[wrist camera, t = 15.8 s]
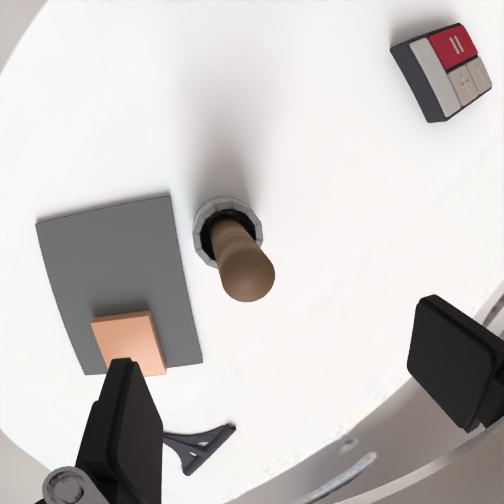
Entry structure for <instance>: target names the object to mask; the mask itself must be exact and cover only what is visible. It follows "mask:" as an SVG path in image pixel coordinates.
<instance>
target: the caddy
mask: <svg viewBox="0 0 504 504" xmlns="http://www.w3.org/2000/svg"><path fill="white" fill-rule="evenodd" d="M219 214H230V215H233V216H234V217H235V218H236V219H237V220H238V221H239V222H240V224H241V225H242V226H243V227H244V229H245V230H246V231H247V232H248V234H249V235H250V236H251V237H252V239H253V240H254V241H255V242H256V244H257V245H258V246H259V247H261V245H262V242H263V233H262V224H261V221H260V220H259V219H258V217H257V216H256V215H255V214H254V212H253V211H252V210H251V208H250V207H248V206H247V205H246V204H245V203H244V202H241V201H239V200H237V199H235V198H232V197H226V196H222V197H216V198H213V199H211V200H209V201H207V202H206V203H205V204H203V205H202V206H201V208H200V209H199V210H198V212H197V214H196V217H195V220H194V223H193V230H192V235H193V241H194V247H195V252H196V253H197V254H198V255H199V256H200V257H201V259H202V260H203V261H204V262H205V263H206V264H207V265H208V266H211V267H214V268H217V269H218V266H217V262H216V258H215V254H214V250H213V246H212V242H211V238H210V234H209V225H210V222H211V221H212V219H213V218H214V217H216V216H217V215H219Z"/></svg>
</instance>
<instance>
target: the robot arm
mask: <svg viewBox="0 0 504 504" xmlns="http://www.w3.org/2000/svg"><path fill="white" fill-rule="evenodd" d="M407 369H408V371H409V373H410V374H411V375H412V376H413V377H414V378H415V379H416V380H417V382H418V383H419V384H420V385H421V386H422V387H423V388H424V389H425V390H426V391H427V392H428V394H429V395H430V396H431V397H432V398H433V399H434V400H435V401H436V402H437V403H438V405H439V406H440V407H441V408H442V409H443V410H444V411H445V412H446V414H447V415H448V416H449V417H450V418H451V419H452V420H453V421H454V423H455V424H456V425H457V426H458V427H460V428H463V429H464V430H465V431H466V432H467V433H469V432H471V431H473V430H474V429H475V428H477V427H478V426H479V424H480V422H481V423H482V424H483V431H482V432H481V433H479V434H478V435H476V436H475V437H473V438H472V439H471V440H469V441H467V442H465V443H464V444H462V445H461V446H459V447H458V448H456V449H454V450H452V451H451V452H449V453H447V454H445V455H444V456H442V457H440V458H438V459H437V460H435V461H433V462H431V463H429V464H427V465H425V466H424V467H422V468H420V469H418V470H416V471H414V472H412V473H410V474H408V475H405V476H403V477H401V478H399V479H397V480H395V481H392V482H390V483H388V484H386V485H383V486H381V487H379V488H376V489H374V490H371V491H368V492H366V493H363V494H361V495H358V496H355V497H353V498H350V499H347V500H344V501H341V502H338V503H335V504H504V341H503V340H502V339H500V338H499V337H497V336H496V335H495V334H493V333H492V332H490V331H489V330H488V329H486V328H485V327H483V326H482V325H480V324H479V323H478V322H476V321H475V320H473V319H472V318H470V317H469V316H467V315H466V314H464V313H463V312H461V311H460V310H459V309H457V308H456V307H454V306H453V305H451V304H450V303H448V302H447V301H445V300H444V299H442V298H440V297H439V296H437V295H435V294H434V295H430V296H427V297H424V298H421V299H420V301H419V303H418V304H417V306H416V310H415V318H414V325H413V331H412V337H411V343H410V349H409V355H408V360H407ZM162 448H163V424H162V420H161V418H160V415H159V413H158V411H157V409H156V406H155V404H154V401H153V399H152V397H151V394H150V392H149V389H148V387H147V384H146V382H145V379H144V377H143V374H142V371H141V369H140V366H139V364H138V362H137V361H132V359H131V358H130V357H126V358H116V359H112V360H111V363H110V366H109V369H108V372H107V375H106V378H105V381H104V384H103V387H102V390H101V393H100V396H99V400H98V401H95V402H94V403H93V405H92V408H91V411H90V414H89V417H88V421H87V424H86V427H85V431H84V434H83V438H82V441H81V445H80V449H79V452H78V456H77V460H76V464H75V467H71V466H67V467H61V468H58V469H55V470H54V471H53V472H51V473H50V474H49V475H48V476H47V477H46V479H45V481H44V483H43V486H42V493H43V496H44V498H43V499H41V500H40V501H38V502H36V503H35V504H161V485H162Z"/></svg>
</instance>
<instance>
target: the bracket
mask: <svg viewBox="0 0 504 504" xmlns="http://www.w3.org/2000/svg"><path fill="white" fill-rule="evenodd" d="M235 430H236V427H233V428H232V429H230V428H229V427H228V425H226V426H221V427H219V428H216V429H214V430H211V431H209V432H205V433H201V434H195V435H172V434H164V433H163V443H164V444H166V445H168V446H169V447H171V448H172V449H173V450H174V451H176V453H177V454H178V455H179V457H180V459H181V461H182V469H183V473H184V474H185V475H186V476H190V475H191V474H192V473H193V472H194V471H196V470H197V469H198V468H199V467H200V466H201V465H202V464H203V463H204V462H205V461H206V460H207V459H208V458H209V457H210V456H211V455H212V454H213V453H214V452H215V451H216V450H217V449H218V448H219V447H220V446H221V445H222V444H223V443H224V442H225V441H226V440H227V439H228V438H229V437H230V436H231V435H232V434H233V433H234V432H235ZM200 442H210V443H209V444H208V445H207V446H206V447H201V446H198V445H195V444H197V443H200ZM189 452H192V453H194V454H196V455H197V456H196V457H194V456H192V455H191V454H190V453H189Z"/></svg>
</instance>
